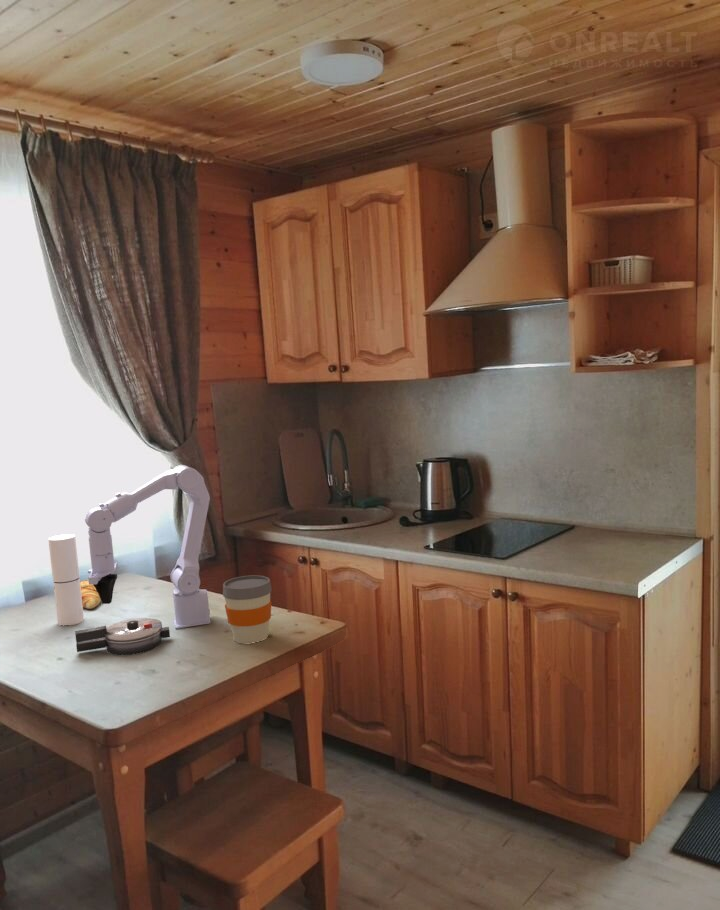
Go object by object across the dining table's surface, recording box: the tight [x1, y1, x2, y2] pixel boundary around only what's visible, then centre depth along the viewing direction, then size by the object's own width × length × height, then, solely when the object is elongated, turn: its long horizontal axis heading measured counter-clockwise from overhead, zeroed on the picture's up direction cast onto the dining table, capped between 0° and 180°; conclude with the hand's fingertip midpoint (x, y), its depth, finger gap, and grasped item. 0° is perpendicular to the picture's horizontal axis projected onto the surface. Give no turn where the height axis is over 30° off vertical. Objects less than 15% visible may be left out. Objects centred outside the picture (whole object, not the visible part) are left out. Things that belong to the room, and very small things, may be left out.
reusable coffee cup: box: [222, 574, 273, 644], centre depth 197 cm, size 13×12×15 cm
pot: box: [75, 626, 171, 656], centre depth 197 cm, size 23×14×4 cm, turn 108°
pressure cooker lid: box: [74, 617, 163, 642], centre depth 196 cm, size 21×15×2 cm
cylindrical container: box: [48, 533, 85, 627], centre depth 218 cm, size 7×7×25 cm
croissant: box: [80, 579, 102, 610], centre depth 238 cm, size 21×10×8 cm, turn 32°
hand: (106, 603), depth 202 cm, fingers closed
